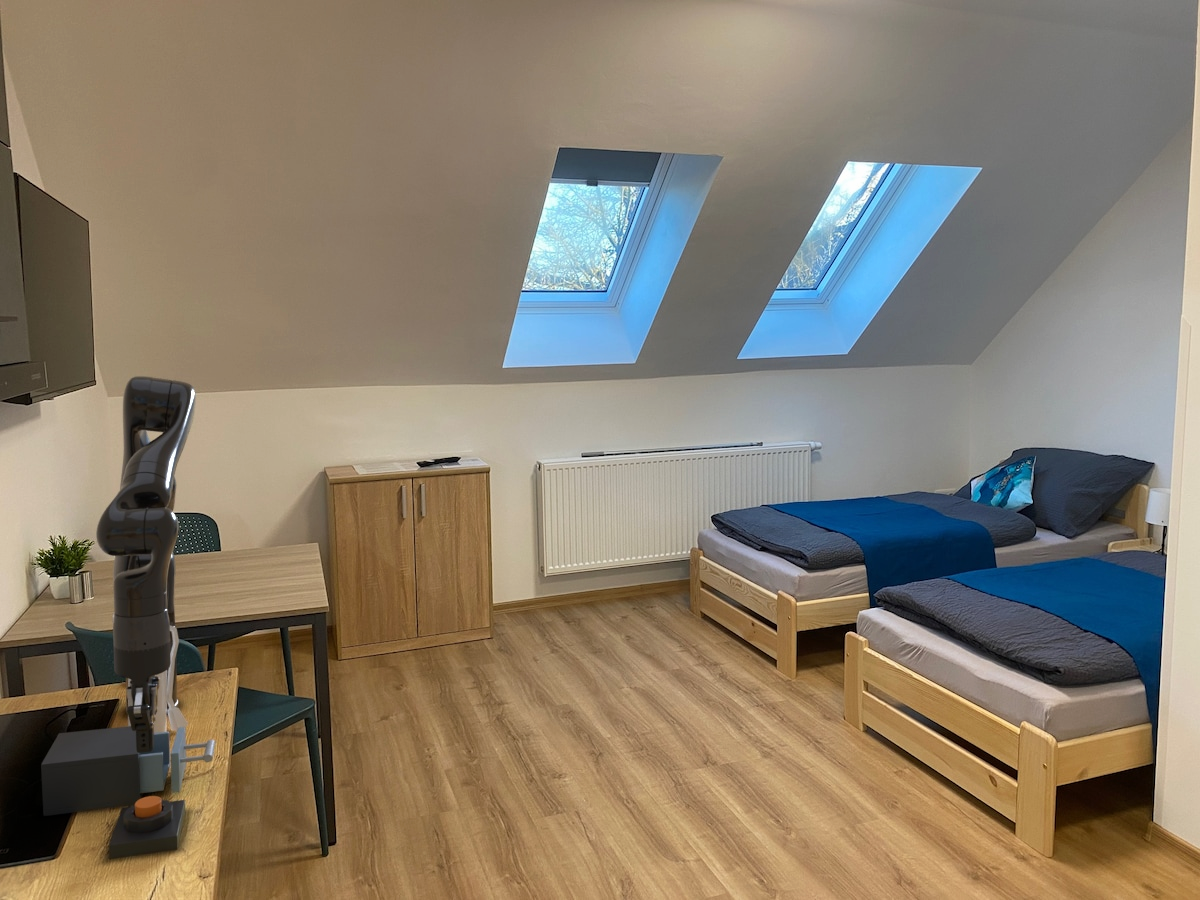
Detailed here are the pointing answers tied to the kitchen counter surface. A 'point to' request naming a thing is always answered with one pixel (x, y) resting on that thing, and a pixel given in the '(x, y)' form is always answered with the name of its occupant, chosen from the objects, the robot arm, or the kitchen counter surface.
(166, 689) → the fire extinguisher
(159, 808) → the button
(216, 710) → the kitchen counter surface
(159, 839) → the control block
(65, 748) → the drawer housing
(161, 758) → the drawer
